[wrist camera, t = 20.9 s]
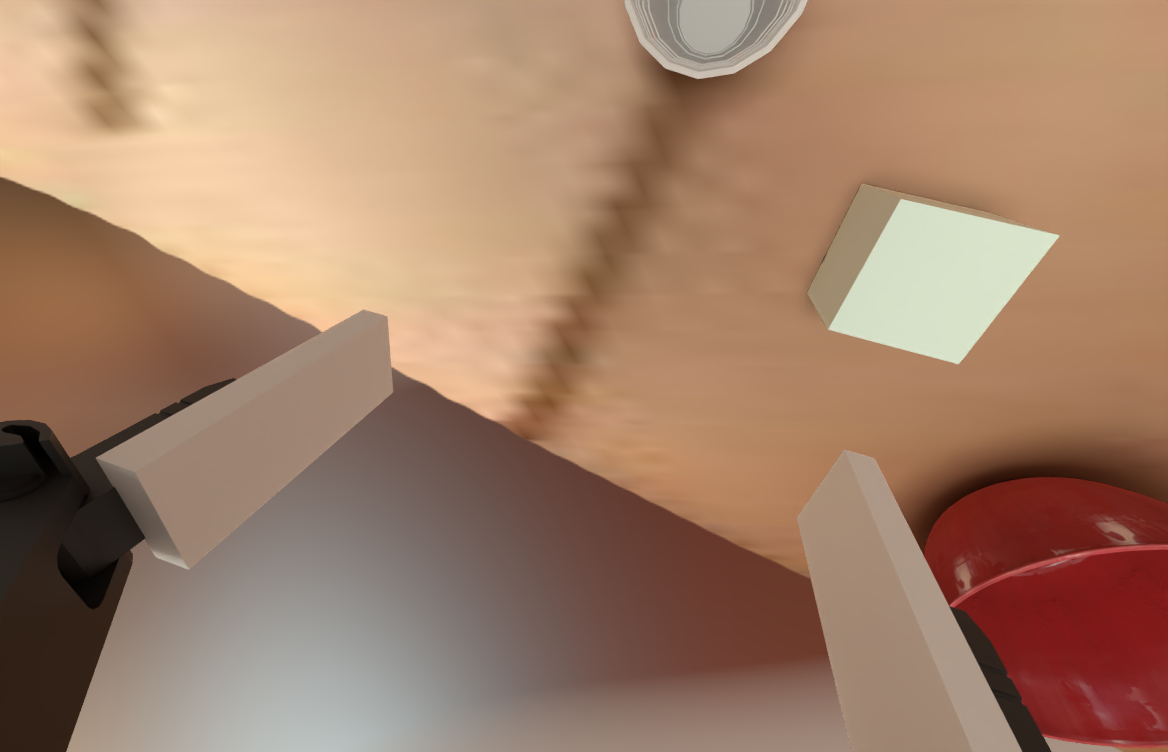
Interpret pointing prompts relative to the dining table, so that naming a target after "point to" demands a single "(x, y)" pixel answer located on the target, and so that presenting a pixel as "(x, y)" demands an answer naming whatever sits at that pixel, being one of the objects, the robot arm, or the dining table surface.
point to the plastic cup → (711, 32)
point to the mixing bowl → (1067, 601)
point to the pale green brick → (922, 272)
